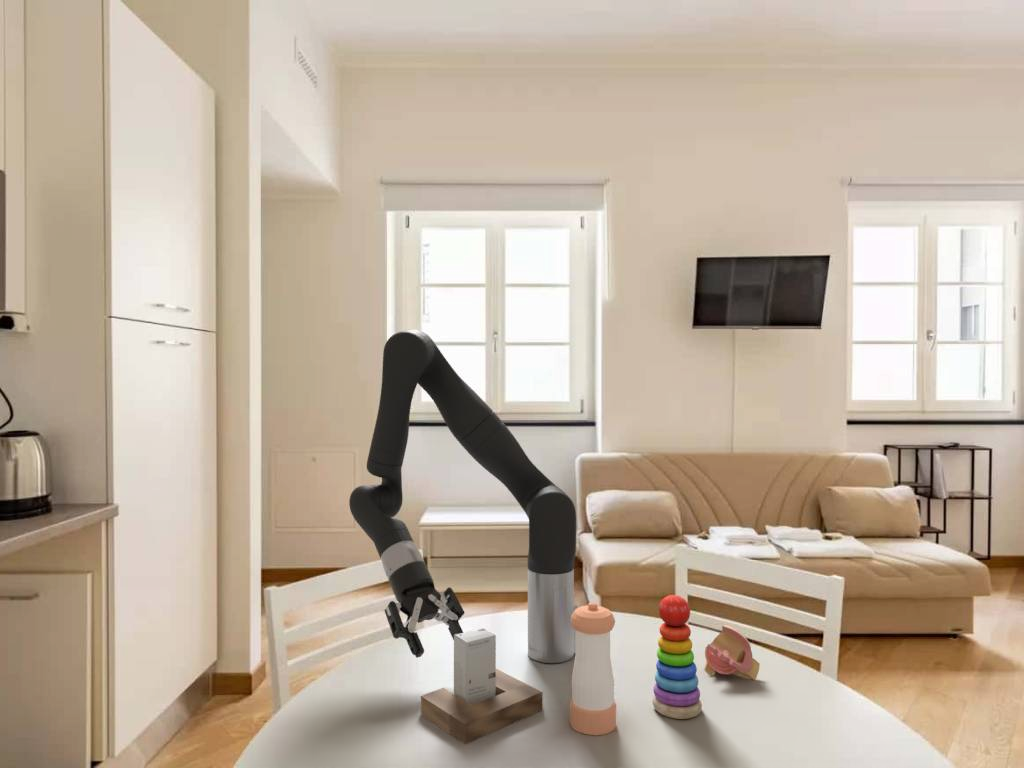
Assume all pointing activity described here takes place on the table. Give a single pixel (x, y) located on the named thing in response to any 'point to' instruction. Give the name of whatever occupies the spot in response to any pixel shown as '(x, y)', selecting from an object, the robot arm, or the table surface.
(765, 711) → the table surface
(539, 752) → the table surface
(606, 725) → the pepper shaker
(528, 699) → the notched board
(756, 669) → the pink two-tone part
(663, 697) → the stacking toy
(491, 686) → the skincare box
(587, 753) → the table surface
